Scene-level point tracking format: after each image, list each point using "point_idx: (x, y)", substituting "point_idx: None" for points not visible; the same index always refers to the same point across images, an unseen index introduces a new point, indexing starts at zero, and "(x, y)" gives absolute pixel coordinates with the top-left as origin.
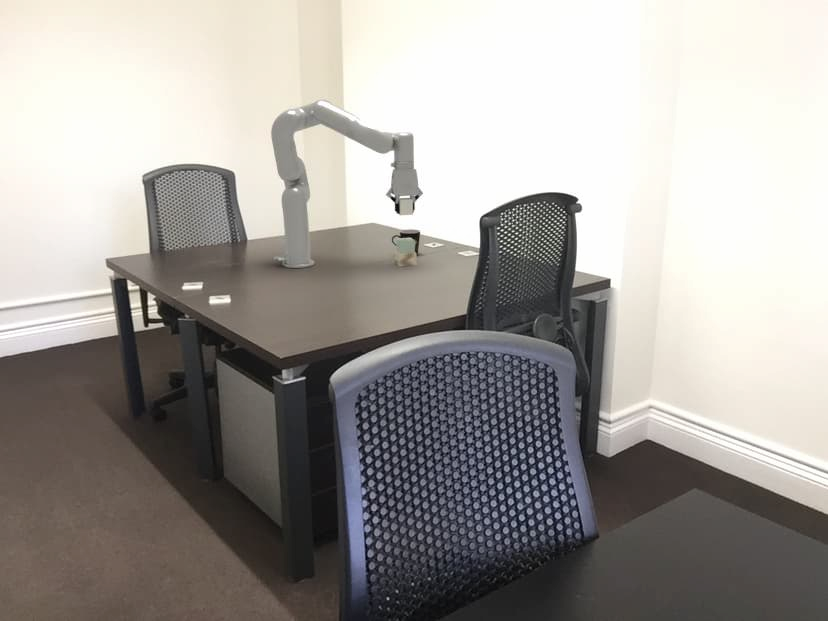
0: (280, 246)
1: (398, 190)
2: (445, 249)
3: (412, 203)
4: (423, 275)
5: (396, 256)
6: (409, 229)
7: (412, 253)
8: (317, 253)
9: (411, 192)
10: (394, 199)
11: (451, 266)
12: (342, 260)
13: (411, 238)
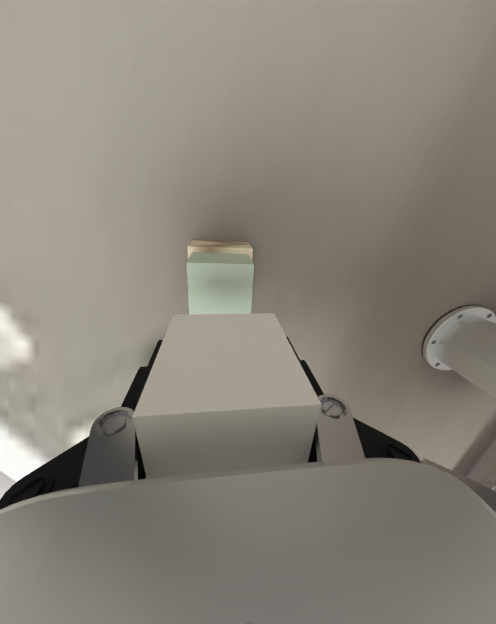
0: None
1: (479, 600)
2: (69, 396)
3: (152, 373)
4: (205, 56)
5: None
6: None
7: (202, 246)
8: (372, 417)
9: (105, 552)
10: (364, 442)
11: (68, 172)
12: (356, 350)
13: (190, 305)
